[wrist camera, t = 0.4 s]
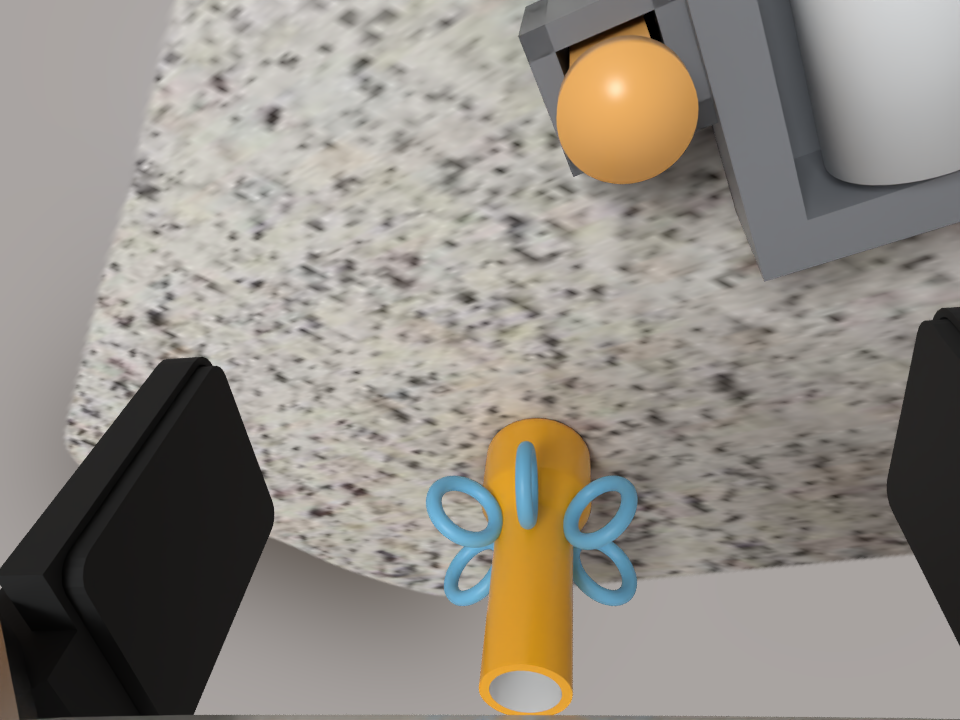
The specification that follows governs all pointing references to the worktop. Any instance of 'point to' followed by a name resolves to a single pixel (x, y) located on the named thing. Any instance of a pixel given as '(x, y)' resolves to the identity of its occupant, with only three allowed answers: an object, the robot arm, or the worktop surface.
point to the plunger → (625, 105)
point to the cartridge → (883, 86)
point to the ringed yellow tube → (533, 559)
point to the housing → (752, 126)
